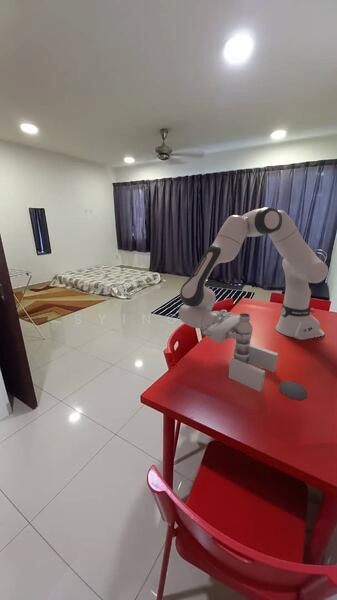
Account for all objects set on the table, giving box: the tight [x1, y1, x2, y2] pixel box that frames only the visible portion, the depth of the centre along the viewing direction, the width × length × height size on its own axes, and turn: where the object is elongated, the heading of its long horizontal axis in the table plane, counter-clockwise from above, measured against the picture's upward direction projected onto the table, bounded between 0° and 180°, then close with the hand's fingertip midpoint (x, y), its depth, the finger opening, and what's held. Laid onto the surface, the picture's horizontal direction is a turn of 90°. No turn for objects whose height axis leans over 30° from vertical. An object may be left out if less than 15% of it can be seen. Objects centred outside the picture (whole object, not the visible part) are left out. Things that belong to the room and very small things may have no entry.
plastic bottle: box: [233, 312, 253, 364], centre depth 92 cm, size 6×7×20 cm
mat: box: [278, 380, 309, 401], centre depth 84 cm, size 9×9×1 cm
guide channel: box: [228, 343, 279, 393], centre depth 91 cm, size 12×16×8 cm
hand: (245, 333), depth 90 cm, fingers closed on plastic bottle, 6 cm apart
